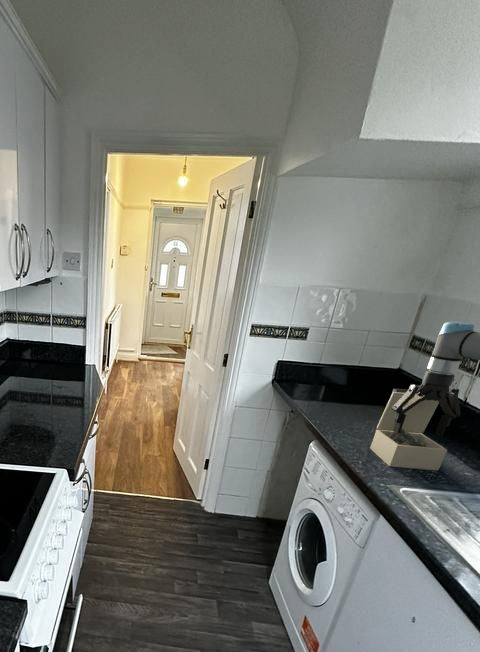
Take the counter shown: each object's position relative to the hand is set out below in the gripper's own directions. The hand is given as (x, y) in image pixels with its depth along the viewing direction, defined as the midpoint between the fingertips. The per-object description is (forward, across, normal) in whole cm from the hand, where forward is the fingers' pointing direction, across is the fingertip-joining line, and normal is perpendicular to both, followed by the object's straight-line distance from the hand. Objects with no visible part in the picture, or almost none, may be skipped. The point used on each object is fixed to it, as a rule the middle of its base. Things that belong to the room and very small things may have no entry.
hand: (417, 433), depth 140 cm
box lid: (-5, +1, -6) cm, 8 cm away
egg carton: (+6, +1, -4) cm, 7 cm away
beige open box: (+11, +1, -1) cm, 11 cm away
